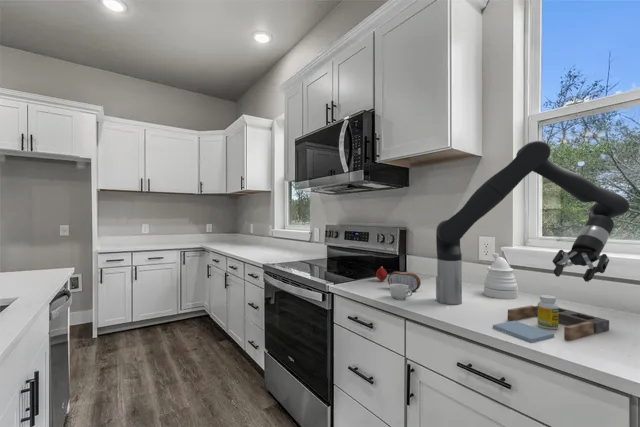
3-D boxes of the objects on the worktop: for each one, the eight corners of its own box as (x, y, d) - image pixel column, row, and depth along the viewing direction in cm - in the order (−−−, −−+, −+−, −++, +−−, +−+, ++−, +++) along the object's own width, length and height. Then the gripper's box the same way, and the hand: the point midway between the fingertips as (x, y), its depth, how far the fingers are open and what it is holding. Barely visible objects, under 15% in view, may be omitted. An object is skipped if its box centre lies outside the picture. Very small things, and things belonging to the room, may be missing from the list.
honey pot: (478, 294, 137) (478, 254, 137) (491, 290, 145) (491, 251, 145) (510, 300, 127) (510, 257, 127) (522, 295, 135) (522, 254, 135)
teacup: (386, 298, 132) (386, 285, 132) (396, 295, 137) (396, 282, 137) (406, 303, 125) (406, 289, 125) (416, 299, 130) (416, 286, 130)
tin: (420, 291, 143) (420, 273, 143) (419, 293, 140) (418, 274, 140) (389, 287, 151) (389, 270, 151) (387, 289, 148) (387, 271, 148)
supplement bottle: (542, 322, 102) (541, 293, 102) (561, 327, 97) (561, 297, 97) (534, 325, 99) (534, 295, 99) (554, 331, 94) (554, 299, 94)
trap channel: (545, 312, 112) (545, 302, 112) (609, 330, 95) (609, 318, 95) (507, 320, 104) (507, 309, 104) (568, 340, 87) (568, 328, 87)
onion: (375, 280, 167) (374, 265, 167) (385, 280, 168) (385, 265, 168) (377, 282, 161) (377, 267, 161) (388, 282, 162) (388, 267, 162)
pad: (514, 323, 101) (514, 320, 101) (554, 337, 90) (554, 333, 90) (492, 328, 97) (492, 324, 97) (531, 342, 86) (531, 339, 86)
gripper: (562, 232, 112) (542, 266, 108) (612, 235, 99) (591, 274, 95) (571, 246, 114) (552, 280, 110) (621, 251, 101) (601, 289, 97)
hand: (570, 277), depth 102 cm, fingers open, 8 cm apart
